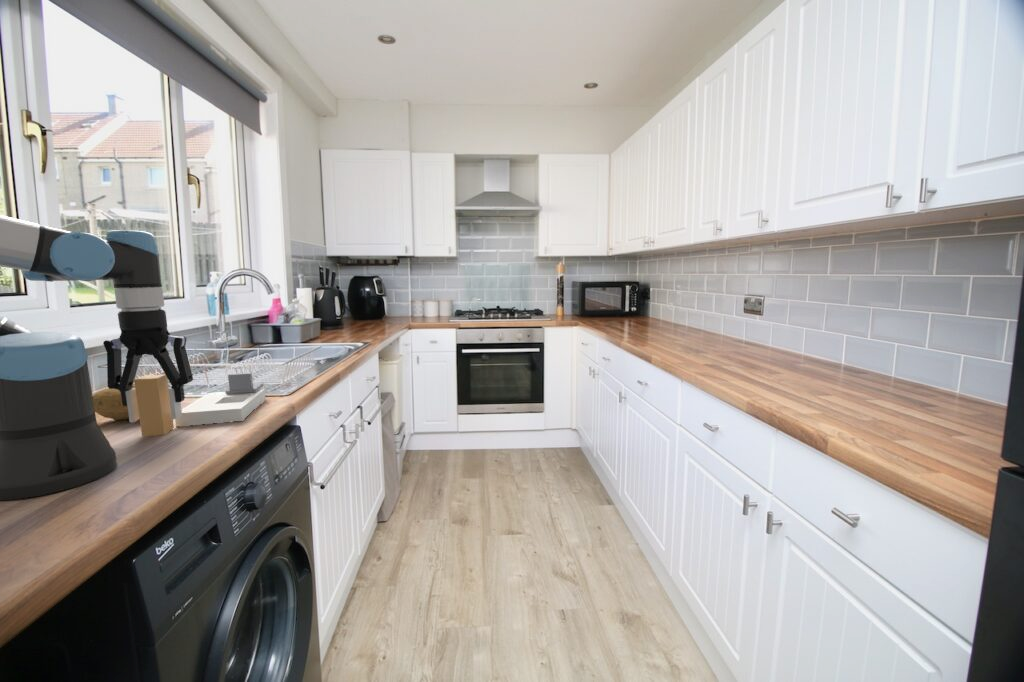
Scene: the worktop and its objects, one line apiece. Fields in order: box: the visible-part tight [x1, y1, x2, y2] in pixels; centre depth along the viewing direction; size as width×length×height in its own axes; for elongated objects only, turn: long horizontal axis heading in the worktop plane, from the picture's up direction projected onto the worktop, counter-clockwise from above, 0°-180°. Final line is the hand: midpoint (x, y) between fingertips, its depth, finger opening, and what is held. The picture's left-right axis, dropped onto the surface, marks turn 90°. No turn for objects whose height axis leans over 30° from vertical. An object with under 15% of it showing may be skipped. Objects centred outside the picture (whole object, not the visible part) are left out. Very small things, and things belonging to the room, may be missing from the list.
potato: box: [92, 383, 135, 421], centre depth 104 cm, size 10×14×8 cm
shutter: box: [224, 372, 264, 394], centre depth 116 cm, size 7×7×5 cm
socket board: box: [174, 388, 266, 427], centre depth 108 cm, size 18×13×3 cm
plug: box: [133, 373, 175, 437], centre depth 94 cm, size 4×4×12 cm
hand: (156, 418), depth 94 cm, fingers open, 7 cm apart
